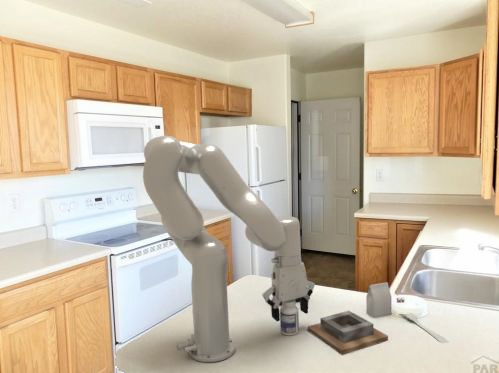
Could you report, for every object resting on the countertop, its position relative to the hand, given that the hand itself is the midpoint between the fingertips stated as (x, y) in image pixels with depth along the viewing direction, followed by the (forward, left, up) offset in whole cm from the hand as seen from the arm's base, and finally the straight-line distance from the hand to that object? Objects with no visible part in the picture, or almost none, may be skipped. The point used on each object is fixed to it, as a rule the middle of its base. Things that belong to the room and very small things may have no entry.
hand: (290, 315), depth 118 cm
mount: (+13, -10, -5) cm, 17 cm away
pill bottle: (0, 0, -5) cm, 5 cm away
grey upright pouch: (+31, -4, -5) cm, 31 cm away
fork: (+35, -17, -5) cm, 39 cm away
